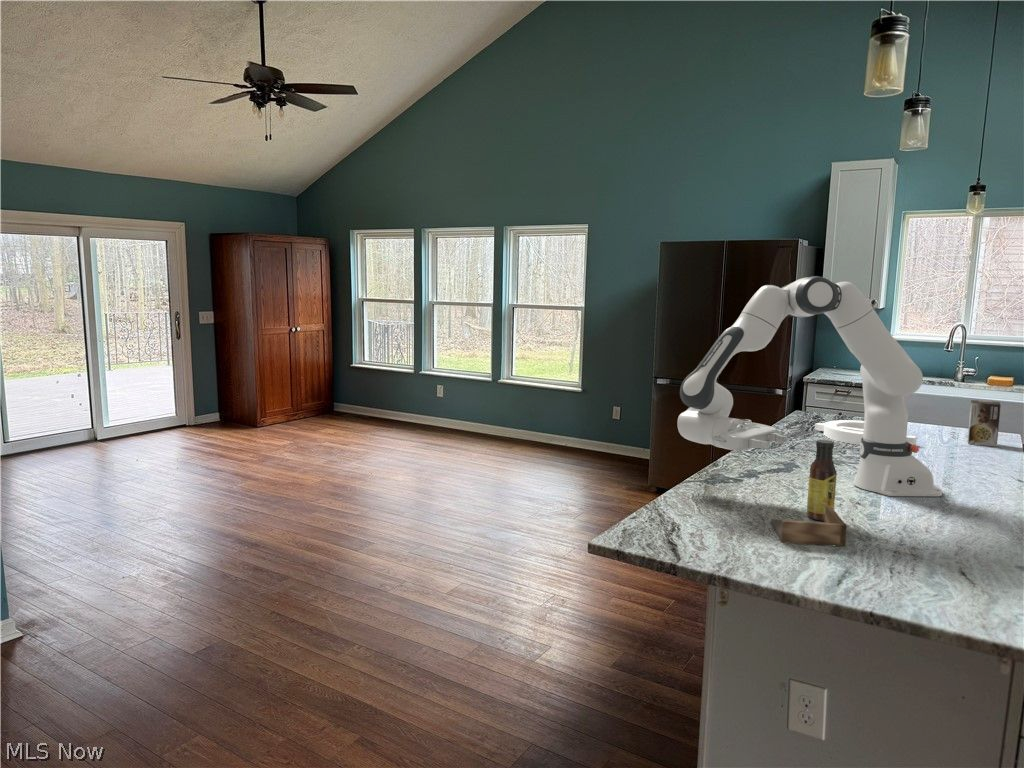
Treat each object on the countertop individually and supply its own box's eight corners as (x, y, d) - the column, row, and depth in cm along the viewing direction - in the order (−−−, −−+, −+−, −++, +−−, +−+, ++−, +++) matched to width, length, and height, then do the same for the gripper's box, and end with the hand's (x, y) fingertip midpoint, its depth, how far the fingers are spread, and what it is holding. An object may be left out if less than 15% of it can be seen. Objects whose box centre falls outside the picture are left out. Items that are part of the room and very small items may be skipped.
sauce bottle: (831, 523, 166) (837, 445, 164) (804, 519, 170) (809, 442, 167) (834, 516, 172) (840, 440, 169) (808, 511, 175) (813, 437, 172)
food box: (995, 443, 252) (1000, 401, 250) (997, 447, 247) (1001, 404, 245) (966, 440, 257) (971, 399, 255) (967, 444, 252) (971, 401, 250)
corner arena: (829, 526, 165) (830, 506, 164) (845, 546, 152) (846, 525, 151) (771, 522, 167) (772, 502, 167) (781, 542, 154) (782, 521, 153)
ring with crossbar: (920, 447, 247) (921, 435, 246) (843, 447, 247) (844, 434, 247) (879, 431, 275) (880, 420, 274) (811, 431, 275) (812, 419, 274)
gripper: (710, 427, 180) (758, 436, 170) (749, 418, 194) (796, 426, 184) (708, 450, 181) (756, 460, 171) (748, 439, 195) (794, 448, 184)
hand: (777, 442), depth 177 cm, fingers open, 8 cm apart
